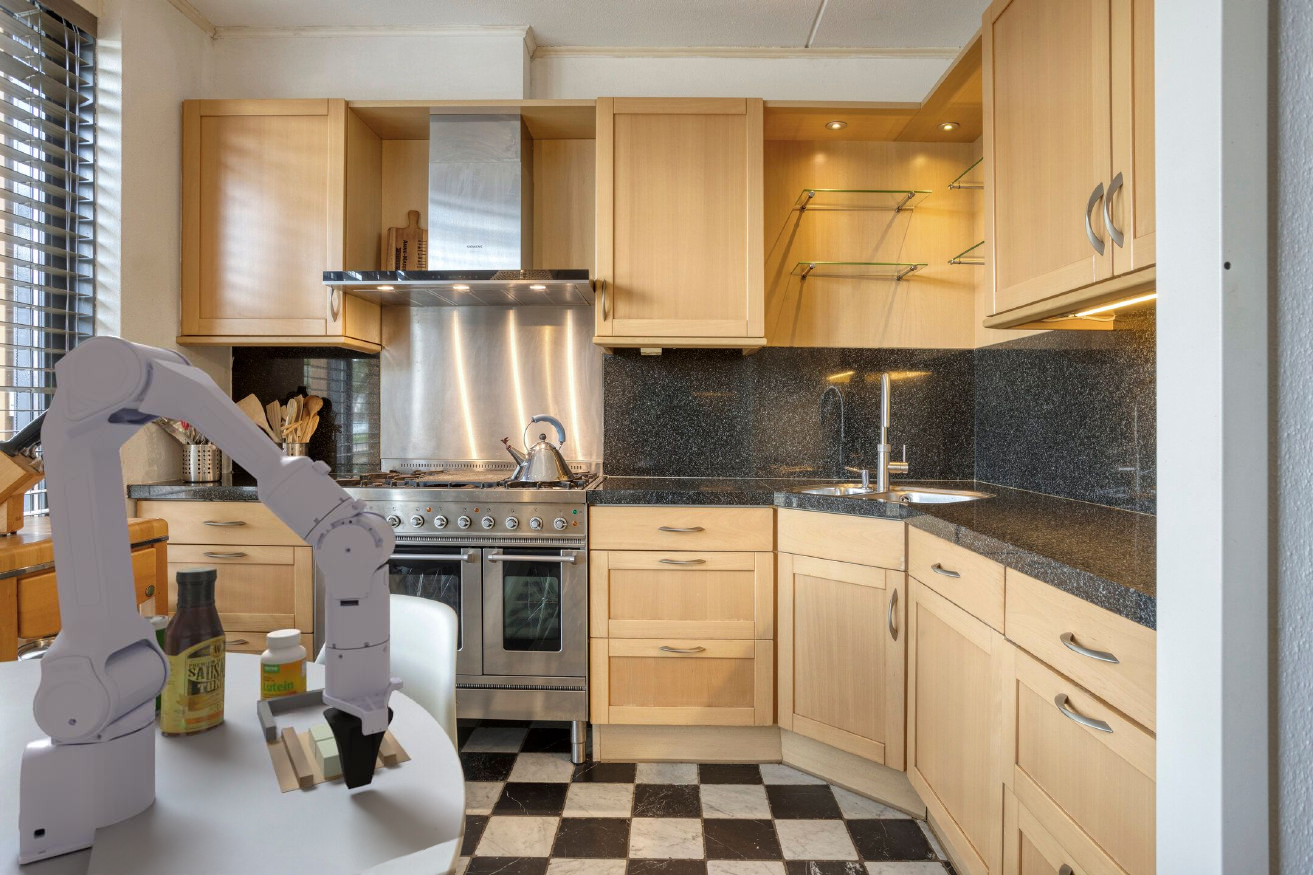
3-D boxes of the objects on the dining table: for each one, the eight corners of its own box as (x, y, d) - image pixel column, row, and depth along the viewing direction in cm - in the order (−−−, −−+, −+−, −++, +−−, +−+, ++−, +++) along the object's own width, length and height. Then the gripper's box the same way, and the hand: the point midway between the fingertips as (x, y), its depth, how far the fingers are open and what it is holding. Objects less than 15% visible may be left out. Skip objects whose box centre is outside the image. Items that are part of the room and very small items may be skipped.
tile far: (315, 759, 73) (315, 740, 73) (308, 744, 77) (308, 726, 77) (361, 748, 76) (361, 730, 76) (352, 734, 79) (352, 716, 79)
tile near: (323, 778, 69) (323, 758, 69) (316, 761, 73) (316, 742, 73) (371, 766, 72) (371, 746, 72) (362, 750, 75) (362, 731, 75)
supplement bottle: (255, 716, 89) (255, 639, 89) (266, 701, 94) (266, 629, 94) (301, 711, 90) (301, 636, 90) (310, 697, 95) (310, 626, 95)
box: (266, 754, 78) (266, 727, 78) (257, 724, 86) (257, 700, 86) (378, 728, 85) (378, 704, 85) (360, 703, 93) (360, 681, 93)
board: (282, 808, 66) (282, 781, 66) (266, 754, 78) (265, 732, 78) (411, 773, 73) (411, 749, 73) (378, 728, 85) (378, 708, 85)
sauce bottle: (192, 752, 78) (192, 575, 79) (146, 747, 80) (146, 573, 80) (238, 728, 85) (238, 565, 85) (195, 725, 86) (194, 564, 86)
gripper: (422, 651, 63) (423, 803, 63) (383, 618, 75) (383, 746, 75) (338, 666, 59) (338, 828, 59) (310, 629, 71) (310, 763, 71)
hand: (358, 783), depth 66 cm, fingers closed
